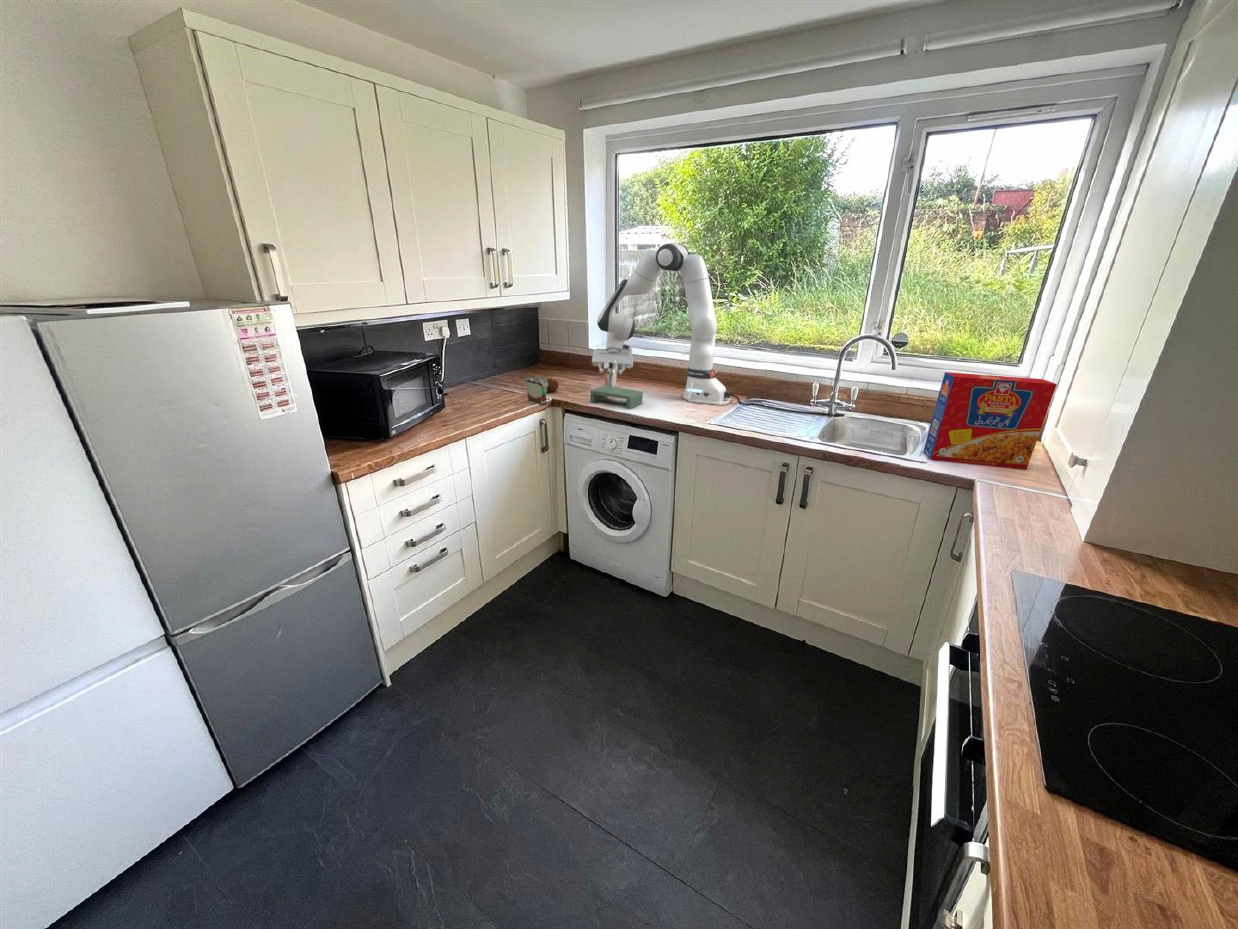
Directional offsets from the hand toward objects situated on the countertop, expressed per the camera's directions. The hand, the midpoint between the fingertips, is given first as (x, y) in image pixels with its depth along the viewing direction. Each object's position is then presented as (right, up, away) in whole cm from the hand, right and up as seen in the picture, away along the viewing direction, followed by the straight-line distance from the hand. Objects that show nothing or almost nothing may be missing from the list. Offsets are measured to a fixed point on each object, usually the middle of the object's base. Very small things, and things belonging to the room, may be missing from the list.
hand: (610, 373), depth 240 cm
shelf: (+3, -16, -17) cm, 23 cm away
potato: (-29, -9, -1) cm, 30 cm away
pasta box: (+123, -43, -73) cm, 149 cm away
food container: (-31, -17, -20) cm, 40 cm away
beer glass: (0, -9, +3) cm, 9 cm away
